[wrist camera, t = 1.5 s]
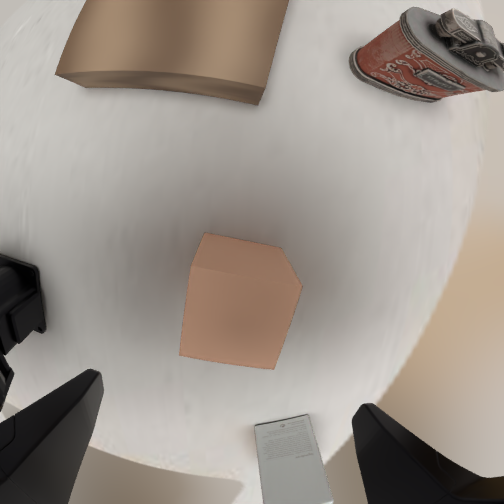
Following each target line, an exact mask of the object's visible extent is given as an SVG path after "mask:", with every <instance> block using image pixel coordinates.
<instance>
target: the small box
mask: <svg viewBox="0 0 504 504" xmlns="http://www.w3.org/2000/svg"><path fill="white" fill-rule="evenodd" d="M254 428H255V437H256V446H257V455H258V464H259V473H260V481H261V489H262V497H263V504H333V501H334V500H333V496H332V493H331V490H330V486H329V483H328V480H327V476H326V472H325V469H324V465H323V462H322V458H321V455H320V451H319V448H318V444H317V441H316V438H315V434H314V431H313V428H312V425H311V422H310V418H309V416H308V415H305V416H301V417H297V418H292V419H288V420H283V421H278V422H273V423H268V424H263V425H257V426H255V427H254Z"/></svg>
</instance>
